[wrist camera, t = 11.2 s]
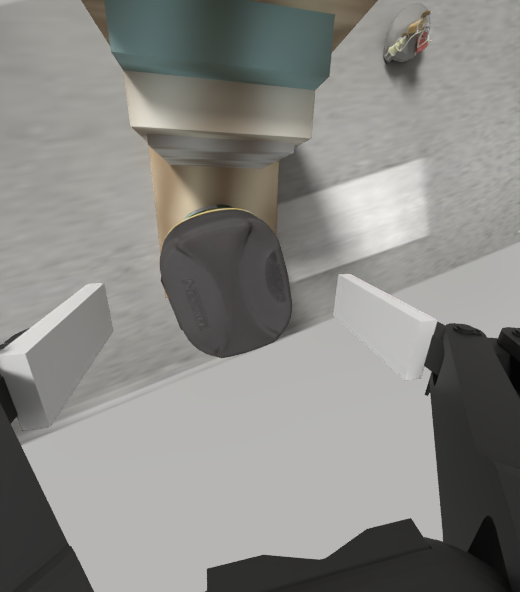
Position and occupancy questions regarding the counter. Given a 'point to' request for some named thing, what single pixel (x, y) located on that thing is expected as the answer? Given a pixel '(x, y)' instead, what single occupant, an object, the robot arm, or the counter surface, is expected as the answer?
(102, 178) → the counter surface
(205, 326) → the coffee jar
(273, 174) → the shelf
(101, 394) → the counter surface
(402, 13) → the figurine
